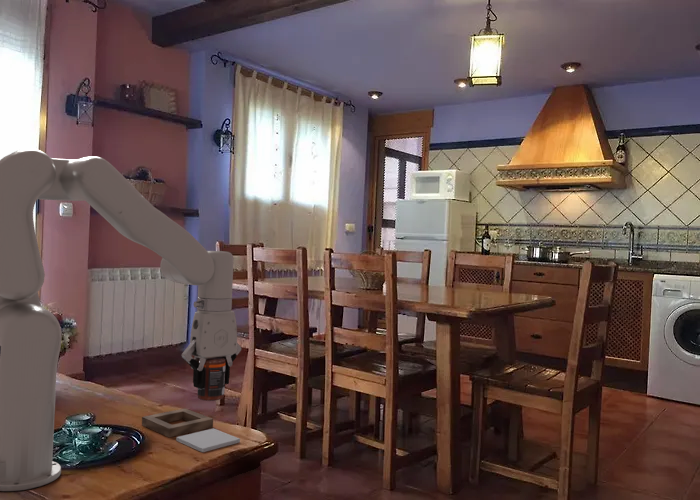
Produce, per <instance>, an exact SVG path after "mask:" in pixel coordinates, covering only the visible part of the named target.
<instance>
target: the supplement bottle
mask: <svg viewBox="0 0 700 500" xmlns="http://www.w3.org/2000/svg"><path fill="white" fill-rule="evenodd" d="M199 361H200V360H199ZM225 363H226V362H225V359H224V358H223V357H215V358H207V359H206V361H205V364H204V367H203V369H202V370H204V371H205V381H204V388H203V389H199V388H197V398H198V399H199V400H201V401H207V402H213V401H220V400H223V399H224V397H225V390H226V389H225V386H226V384H225Z"/></svg>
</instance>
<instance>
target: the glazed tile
mask: <svg viewBox="0 0 700 500" xmlns="http://www.w3.org/2000/svg"><path fill="white" fill-rule="evenodd" d="M175 437H176V442H178V443H180V444H183V445H185V446H188V447H189V448H192V449H194V450H196V451H199V452H200V453H206V452H210V451H212V450H213V451H214V450H216V449H219V448H220V449H221V448H224V447H228V446H231V445H235V444H239V443H241V438H239V437H236V436H234V435H231V434H229V433H226V432H224V431H221V430H219V429H217V428H214V427H212V428H208V429H203V430H199V431H195V432H191V433H189V434H188V433H187V434H183V435H178V436H175Z"/></svg>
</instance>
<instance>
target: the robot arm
mask: <svg viewBox="0 0 700 500" xmlns="http://www.w3.org/2000/svg"><path fill="white" fill-rule="evenodd" d="M37 200H45V201H65V202H66V201H71V202H74V201H76V202H79V201H80V202H81V201H83V202H84V201H85V202H86V203H87V204H88V205H89V206H90V207H91V208H93V209H94V210H95V211H96V212H97V213H98V214H99V216H101V217H102V218H104V219H105V220H106V221H107V222H108V223H109V224H110V225H111V227H113V229H115V230H116V231H117V232H118V233H119V234H120V235H122V236H123V237H124V238H127V240H130V241H132V242H134V243H136V244H138V245H141V246H143V247H144V248H147V249H149V250H151V251H153V252H154V253H156V254H157V255H158V256H159V257H161V260H160V266H159V267H160V270H161V274H162V275H163V276H164V277H165V278H166V280H169V281H170V282H173V283H177V284H184V285H188V286H189V285H190V286H197V300H196V301H193V307H194V308H196V309H197V311H195V312H194V315H193V319H192V323H191V330H190V338H189V344H188V346H187V347H186V348H185V349H184V351H183V352H182V353H181V358H182V359H184V361H186V363H187V364H188V365H189V366H190V368H191V370H193V371H192V373H193V374H192V375H193V377H192V383H193V387H194V388H197V389H198V388H199V389H203V388H204V381H205V371H204V370H202V369H203V367H204V364H205V361H206V359H207V358H215V357H223V358H224V359H225V362H226V363H225V385H229V383H230V374H231V373H230V371H231V367H232V366H233V362H234V361H235V359H236V358H237V356H238V355H239V354H240V353H241V351H242V346H241V345H240V344H239V343H238V328H237V326H238V325H237V319H236V314H235V311H234V310H232V307H233V306H232V305H233V301H232V300H233V283H234V282H233V281H234V276H233V275H234V256H233V254H232V252H230V251H222V250H207V249H206V248H205V247H204V246H203V245H202V244H201V243H200V242H199V241H198V240H197V239H196V238H195V237H194V236H193V235H192V234H191V233H190V232H189V231H188V230H186V229H185V228H184V227H183V226H181V225H180V224H178V223H177V221H174V220H173V219H172V218H170V217H168V216H167V214H165V213H164V212H162V211H161V210H160V209H158V208H156V207H155V206H154V205H153V204H152V203H151V202H150V201H148V199H147V198H145V197H144V195H142V194H141V192H140V191H138V190H137V188H136V187H135V186H134V185H132V184H131V183H130V181H129V180H128V179H127V178H126V177H125V176H124V175H123V174H122V173H121V172H120V171H118V169H117V168H116V167H115V166H114V165H112V163H110V162H109V161H108V160H106V159H105V158H103V157H100V156H93V155H92V156H84V157H81V158H77V159H66V158H53V157H50V156H49V155H48V154H47V153H45V152H44V151H42V150H40V149H37V148H23V149H19V150H16V151H14V152H11V153H9V154H7V155H6V156H3V157H2V158H1V159H0V492H18V491H25V490H30V489H35V488H39V487H42V486H44V485H47V484H51V483H52V482H54V481H55V480H57V479H58V478H59V477H60V476H61V474H62V466H61V465H60V464H59V463H58V462H56V461H53V454H54V434H55V433H54V432H55V415H56V414H55V412H56V394H57V393H56V391H57V390H56V387H57V386H56V385H57V371H58V362H59V356H60V351H61V346H62V328H61V325H60V322H59V320H58V318H57V316H55V315H54V314H53V313H52V312H51V311H49V310H48V309H47V308H44V307H42V305H41V300H40V295H39V292H40V290H41V289H42V287H43V286H44V282H45V278H46V277H45V276H46V274H45V267H44V264H43V261H42V256H41V254H40V253H41V252H40V248H39V244H38V240H37V236H36V231H35V230H36V229H35V223H34V209H35V204H36V203H37ZM193 356H194V357H193ZM199 360H200V361H199Z"/></svg>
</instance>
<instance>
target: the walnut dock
mask: <svg viewBox="0 0 700 500" xmlns="http://www.w3.org/2000/svg"><path fill="white" fill-rule="evenodd" d="M180 420H182V421H183V422H179V423H175V424H171V422H176V421H177V422H178V421H180ZM141 426H143V427H144V428H148V429H149V430H152V431H154V432H156V433H158V434H161V435H163V436H165V437H166V438H173V437H178V436H182V435H187V434H188V433H189V434H191V433H195V432H199V431H204V430H208V429H212V428H214V418H212V417H209V416H207V415H204V414H201V413H198V412H196V411H193V410H191V409H188V408H186V407H185V408H179V409H176V410H175V409H174V410H169V411H165V412H160V413H154V414H150V415H144V416H142V417H141Z"/></svg>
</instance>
